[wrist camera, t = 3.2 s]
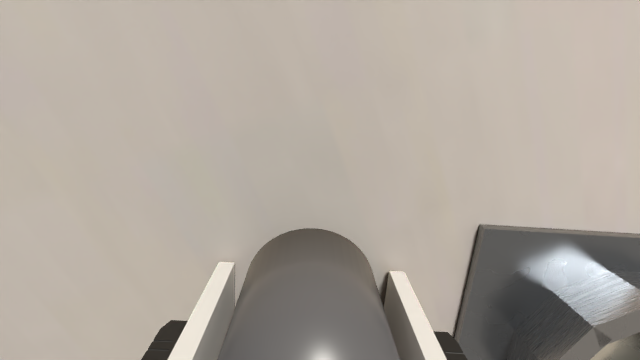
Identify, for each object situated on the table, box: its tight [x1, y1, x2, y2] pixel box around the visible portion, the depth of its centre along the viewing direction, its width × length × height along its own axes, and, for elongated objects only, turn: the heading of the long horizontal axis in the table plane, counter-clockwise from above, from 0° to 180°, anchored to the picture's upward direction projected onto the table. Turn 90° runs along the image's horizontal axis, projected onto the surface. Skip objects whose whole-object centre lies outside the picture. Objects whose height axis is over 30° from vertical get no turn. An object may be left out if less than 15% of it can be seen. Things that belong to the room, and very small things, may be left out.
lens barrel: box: [217, 229, 400, 360], centre depth 13 cm, size 6×6×8 cm
